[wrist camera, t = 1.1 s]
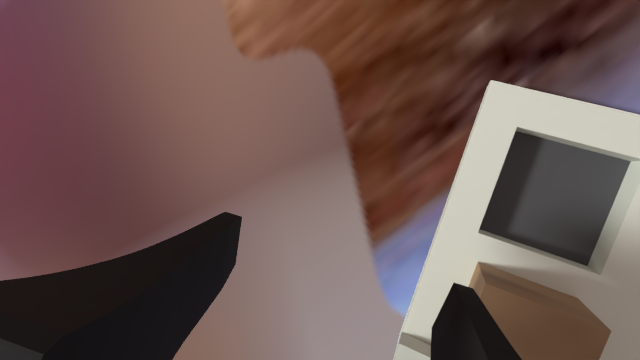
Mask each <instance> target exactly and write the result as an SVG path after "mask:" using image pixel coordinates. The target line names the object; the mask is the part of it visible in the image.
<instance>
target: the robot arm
mask: <svg viewBox="0 0 640 360" xmlns="http://www.w3.org/2000/svg"><path fill="white" fill-rule="evenodd" d="M241 220H242V217H240V216H237V215H234V214H231V213H228V212H224V213H221V214H219V215H217V216H215V217H213V218H211V219H209V220H207V221H205V222H204V223H201V224H199V225H197V226H195V227H193V228H191V229H189V230H187V231H185V232H183V233H181V234H178V235H177V236H174V237H172V238H169V239H167V240H165V241H162V242H160V243H157V244H155V245H153V246H150V247H148V248H145V249H142V250H140V251H137V252H134V253H131V254H128V255H125V256H122V257H118V258H115V259H112V260H108V261H104V262H100V263H97V264H93V265H89V266H85V267H81V268H77V269H72V270H68V271H62V272H58V273H52V274H46V275H41V276H34V277H28V278H20V279H12V280H4V281H0V360H172V359H173V358H174V356H175V354H176V353H177V351H178V350H179V348H180V347H181V345H182V343H183V342H184V341H185V339H186V338H187V337H188V335H189V334H190V332H191V331H192V329H193V328H194V327H195V326H196V324H197V323H198V321H199V320H200V319H201V317H202V316H203V315H204V313H205V312H206V310H207V309H208V308H209V306H210V305H211V303H212V302H213V301H214V299H215V298H216V297H217V295H218V294H219V292H220V291H221V289H222V288H223V286H224V284H225V283H226V281H227V279H228V277H229V275H230V273H231V271H232V269H233V268H234V266H235V263H236V256H237V249H238V242H239V234H240V227H241ZM431 360H522V359H521V358H520V356H519V355H518V354H517V352H516V351H515V349H514V348H513V347H512V345H511V344H510V342H509V341H508V340H507V338H506V337H505V335H504V334H503V332H502V331H501V329H500V328H499V326H498V325H497V323H496V322H495V320H494V319H493V317H492V316H491V314H490V313H489V311H488V310H487V308H486V307H485V305H484V304H483V302H482V301H481V299H480V298H479V296H478V295H477V293H476V292H475V290H474V289H473V288H470V287H467V286H464V285H461V284H457V283H453V285H452V287H451V289H450V291H449V293H448V295H447V297H446V299H445V301H444V303H443V306H442V308H441V310H440V312H439V314H438V316H437V318H436V320H435V322H434V324H433V326H432V333H431Z"/></svg>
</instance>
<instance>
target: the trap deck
mask: <svg viewBox="0 0 640 360" xmlns="http://www.w3.org/2000/svg"><path fill="white" fill-rule="evenodd" d="M477 262H480V263H483V264H486V265H489V266H491V267H494V268H497V269H499V270H502V271H505V272H508V273H510V274H513V275H516V276H519V277H521V278H524V279H527V280H529V281H532V282H535V283H538V284H540V285H543V286H546V287H548V288H551V289H554V290H557V291H559V292H562V293H565V294H568V295H570V296H573V297H576V298H578V299H579V300H580V301H581V302H582V303H583V304H584V305H585V306H586V307H587V308H588V309H589V310H590V311H591V312H593V313H594V314H595V315H596V316H597V317H598V318H599V319H600V320H601V321H602V322H603V323H604V324H605V325H606V326H607V327H608V328H609V329H610V330H611V334H610V336H609V338H608V340H607V343H606V345H605V347H604V350H603V352H602V354H601V356H600V359H599V360H640V115H639V114H635V113H630V112H626V111H622V110H617V109H613V108H609V107H605V106H600V105H596V104H592V103H587V102H583V101H579V100H574V99H570V98H566V97H561V96H557V95H553V94H549V93H544V92H540V91H536V90H531V89H527V88H523V87H518V86H514V85H510V84H506V83H501V82H497V81H493V80H491V81H490V83H489V84H488V86H487V88H486V91H485V94H484V97H483V100H482V102H481V105H480V108H479V111H478V114H477V117H476V119H475V122H474V125H473V128H472V131H471V134H470V136H469V139H468V142H467V145H466V148H465V150H464V153H463V156H462V159H461V162H460V165H459V167H458V170H457V173H456V176H455V179H454V182H453V184H452V187H451V190H450V193H449V196H448V199H447V201H446V204H445V207H444V210H443V213H442V215H441V218H440V221H439V224H438V227H437V230H436V232H435V235H434V238H433V241H432V244H431V247H430V249H429V252H428V255H427V258H426V261H425V264H424V266H423V269H422V272H421V275H420V278H419V280H418V283H417V286H416V289H415V292H414V295H413V297H412V300H411V303H410V306H409V309H408V312H407V314H406V317H405V320H404V323H403V326H402V329H401V331H400V335H399V339H398V343H397V347H396V350H395V354H394V360H431V333H432V326H433V324H434V322H435V320H436V318H437V316H438V314H439V312H440V310H441V308H442V306H443V303H444V301H445V299H446V297H447V295H448V293H449V291H450V289H451V287H452V285H453V283H457V284H461V285H464V286H467V287H468V286H469V284H470V281H471V278H472V276H473V273H474V270H475V268H476V265H477Z"/></svg>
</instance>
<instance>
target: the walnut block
mask: <svg viewBox="0 0 640 360" xmlns="http://www.w3.org/2000/svg"><path fill="white" fill-rule="evenodd" d="M468 287H470V288H473V289H474V290H475V292H476V293H477V295H478V296H479V298H480V299H481V301H482V302H483V304H484V305H485V307H486V308H487V310H488V311H489V313H490V314H491V316H492V317H493V319H494V320H495V322H496V323H497V325H498V326H499V328H500V329H501V331H502V332H503V334H504V335H505V337H506V338H507V340H508V341H509V342H510V344H511V345H512V347H513V348H514V349H515V351H516V352H517V354H518V355H519V356H520V358H521V359H522V360H599V359H600V356H601V354H602V352H603V350H604V347H605V345H606V343H607V340H608V338H609V336H610V334H611V330H610V329H609V328H608V327H607V326H606V325H605V324H604V323H603V322H602V321H601V320H600V319H599V318H598V317H597V316H596V315H595V314H594V313H593V312H591V311H590V310H589V309H588V308H587V307H586V306H585V305H584V304H583V303H582V302H581V301H580V300H579V299H578V298H576V297H573V296H570V295H568V294H565V293H562V292H559V291H557V290H554V289H551V288H548V287H546V286H543V285H540V284H538V283H535V282H532V281H529V280H527V279H524V278H521V277H519V276H516V275H513V274H510V273H508V272H505V271H502V270H499V269H497V268H494V267H491V266H489V265H486V264H483V263H480V262H477V265H476V268H475V270H474V273H473V276H472V278H471V281H470V284H469V286H468Z"/></svg>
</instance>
